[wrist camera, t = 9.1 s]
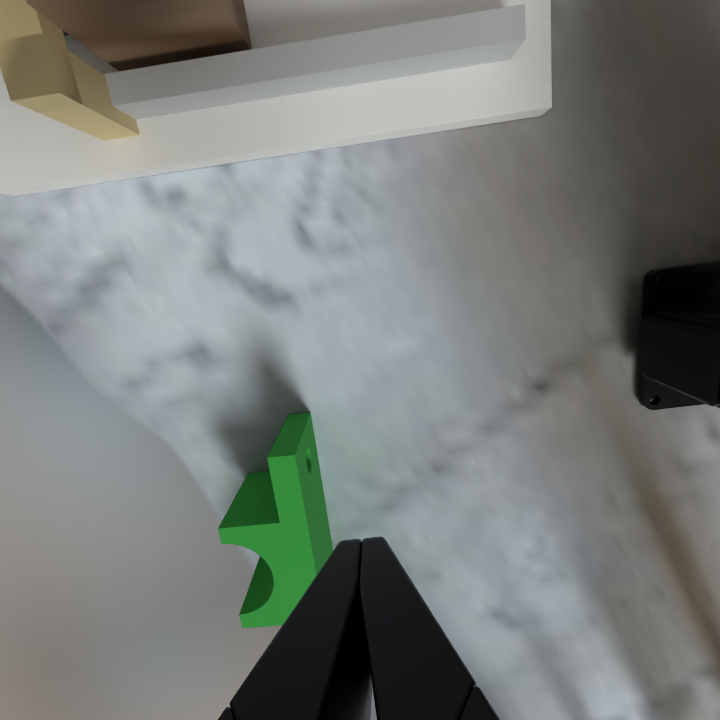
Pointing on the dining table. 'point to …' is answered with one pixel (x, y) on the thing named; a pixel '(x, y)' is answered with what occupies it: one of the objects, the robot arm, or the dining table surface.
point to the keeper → (151, 28)
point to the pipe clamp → (281, 525)
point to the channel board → (265, 87)
